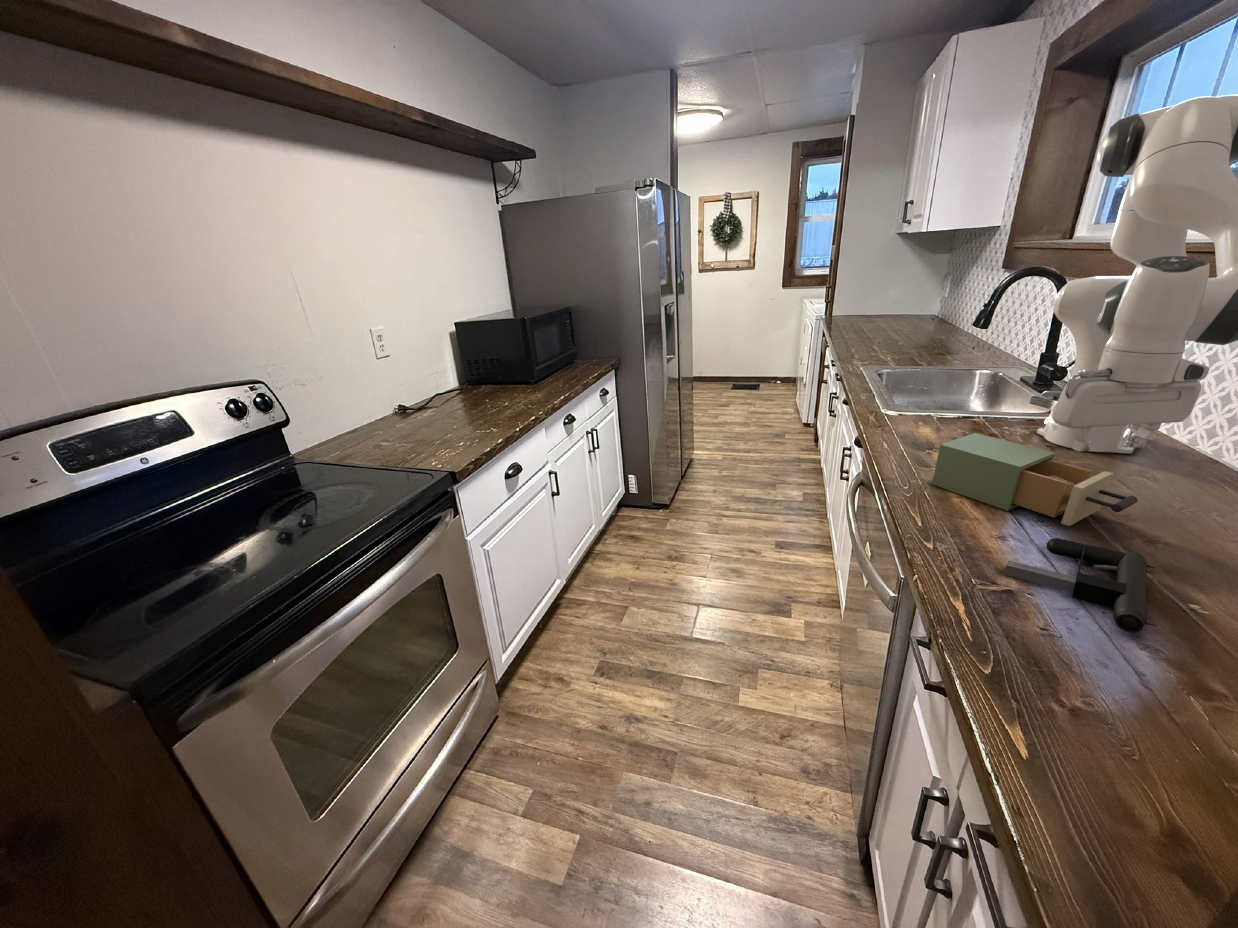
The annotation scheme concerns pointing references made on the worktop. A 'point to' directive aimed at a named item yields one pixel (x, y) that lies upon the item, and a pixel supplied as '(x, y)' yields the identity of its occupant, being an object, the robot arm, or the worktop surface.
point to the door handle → (1097, 580)
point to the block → (1067, 491)
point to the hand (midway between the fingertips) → (1107, 448)
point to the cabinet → (985, 468)
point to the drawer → (1049, 492)
